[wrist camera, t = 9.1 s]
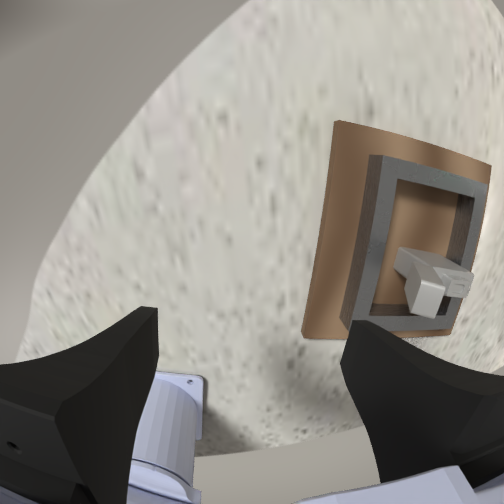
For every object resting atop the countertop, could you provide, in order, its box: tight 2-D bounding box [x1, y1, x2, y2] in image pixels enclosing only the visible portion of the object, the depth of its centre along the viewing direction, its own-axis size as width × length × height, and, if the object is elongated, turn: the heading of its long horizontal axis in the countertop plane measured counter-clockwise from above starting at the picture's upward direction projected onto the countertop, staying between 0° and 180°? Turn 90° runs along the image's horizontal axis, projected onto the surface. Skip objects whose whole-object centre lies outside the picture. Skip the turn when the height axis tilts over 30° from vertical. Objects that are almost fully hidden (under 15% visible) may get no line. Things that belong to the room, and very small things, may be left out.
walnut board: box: [301, 120, 492, 339], centre depth 21 cm, size 14×15×1 cm
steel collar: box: [339, 154, 488, 332], centre depth 20 cm, size 9×11×2 cm
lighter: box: [393, 247, 474, 319], centre depth 17 cm, size 7×2×8 cm, turn 80°
